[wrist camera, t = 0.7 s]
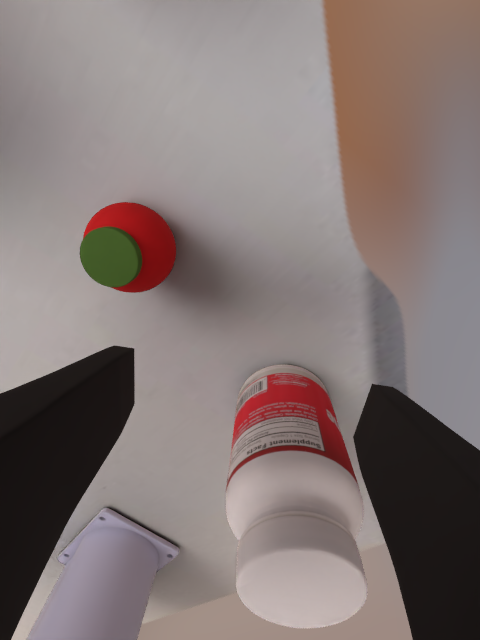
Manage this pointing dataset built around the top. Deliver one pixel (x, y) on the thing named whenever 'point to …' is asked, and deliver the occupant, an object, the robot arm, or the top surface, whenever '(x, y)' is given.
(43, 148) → the top surface
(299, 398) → the pill bottle
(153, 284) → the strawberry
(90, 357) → the robot arm
